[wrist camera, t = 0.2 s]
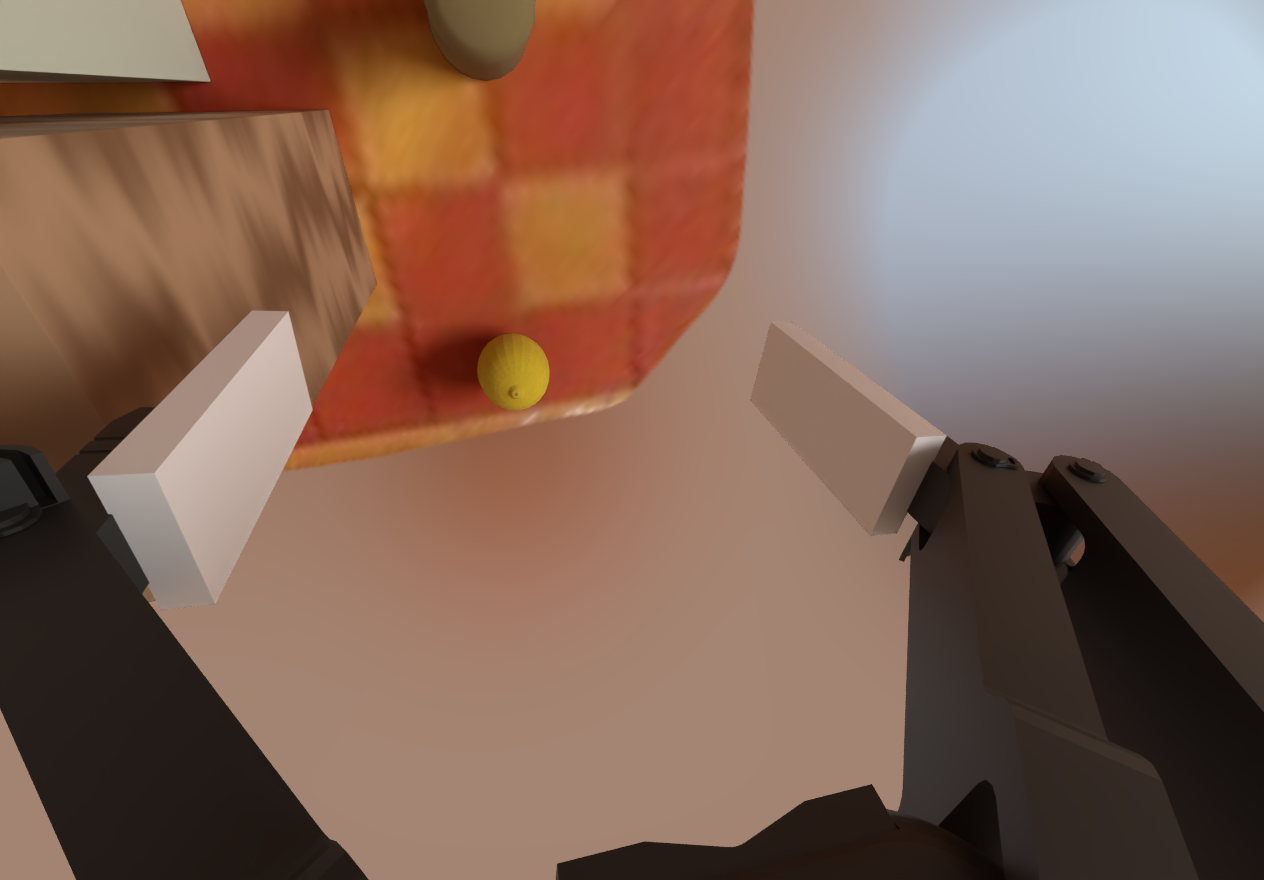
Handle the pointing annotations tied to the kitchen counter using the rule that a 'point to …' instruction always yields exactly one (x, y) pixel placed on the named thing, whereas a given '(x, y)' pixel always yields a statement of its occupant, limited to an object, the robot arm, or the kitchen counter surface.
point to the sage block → (97, 42)
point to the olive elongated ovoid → (481, 34)
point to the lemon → (513, 371)
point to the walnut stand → (162, 257)
